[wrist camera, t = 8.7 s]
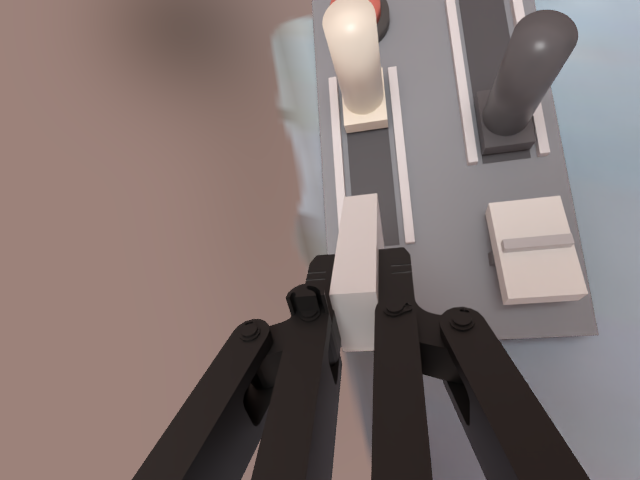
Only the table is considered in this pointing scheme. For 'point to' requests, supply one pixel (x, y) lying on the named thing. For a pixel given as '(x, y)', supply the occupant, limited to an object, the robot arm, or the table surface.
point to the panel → (445, 158)
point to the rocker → (534, 251)
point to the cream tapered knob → (357, 63)
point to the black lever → (523, 81)
